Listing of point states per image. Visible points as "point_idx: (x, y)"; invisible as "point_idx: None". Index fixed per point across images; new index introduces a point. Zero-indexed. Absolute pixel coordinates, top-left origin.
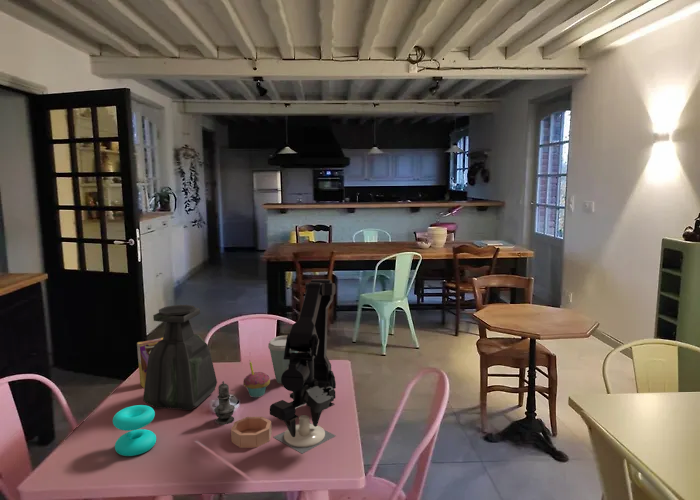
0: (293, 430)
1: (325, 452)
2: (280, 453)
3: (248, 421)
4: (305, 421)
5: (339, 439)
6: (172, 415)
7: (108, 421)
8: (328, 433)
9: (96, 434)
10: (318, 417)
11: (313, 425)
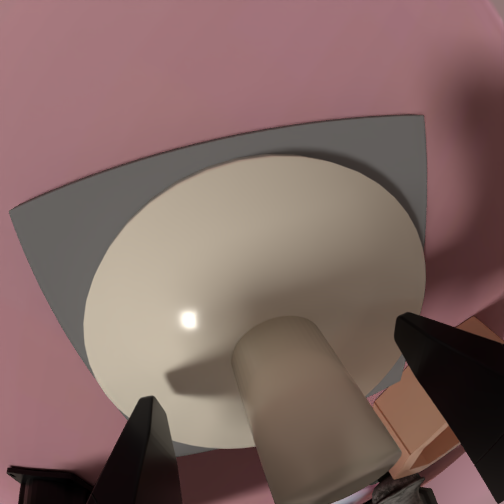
0: (470, 334)
1: (239, 20)
2: (459, 232)
3: (422, 455)
4: (369, 437)
5: (5, 164)
6: (419, 472)
7: (463, 449)
8: (57, 285)
9: None
10: (123, 472)
11: (165, 414)
